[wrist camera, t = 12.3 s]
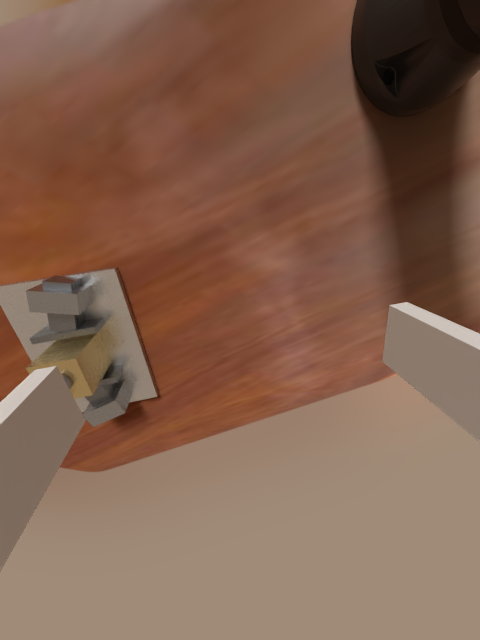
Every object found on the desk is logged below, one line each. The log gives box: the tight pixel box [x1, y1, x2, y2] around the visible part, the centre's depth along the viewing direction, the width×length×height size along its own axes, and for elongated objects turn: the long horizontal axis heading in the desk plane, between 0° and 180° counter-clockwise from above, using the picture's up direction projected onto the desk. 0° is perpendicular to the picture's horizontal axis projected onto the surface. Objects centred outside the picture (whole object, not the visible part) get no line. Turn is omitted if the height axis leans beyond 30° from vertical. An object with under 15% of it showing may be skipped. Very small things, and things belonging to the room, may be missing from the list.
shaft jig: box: [0, 267, 158, 427], centre depth 32 cm, size 20×14×5 cm
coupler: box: [26, 332, 111, 399], centre depth 30 cm, size 5×5×8 cm
